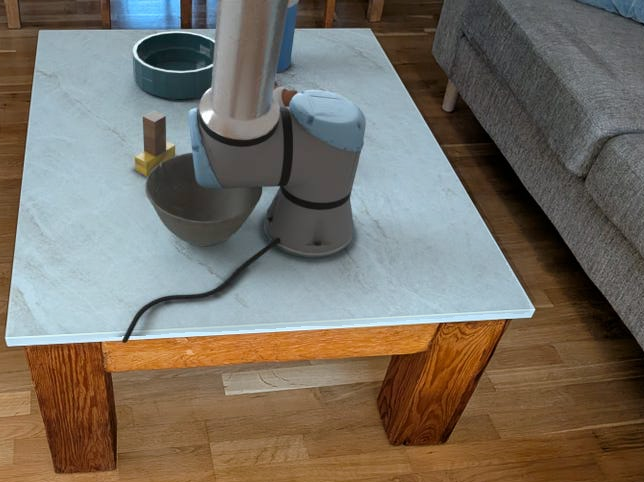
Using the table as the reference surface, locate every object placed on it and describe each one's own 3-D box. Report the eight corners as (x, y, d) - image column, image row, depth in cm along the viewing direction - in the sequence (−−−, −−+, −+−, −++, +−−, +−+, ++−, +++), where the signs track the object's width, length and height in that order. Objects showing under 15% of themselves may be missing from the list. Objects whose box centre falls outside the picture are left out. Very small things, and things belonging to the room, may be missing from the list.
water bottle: (287, 75, 154) (302, -47, 135) (247, 69, 155) (256, -52, 136) (292, 56, 160) (307, -62, 141) (253, 52, 161) (263, -67, 142)
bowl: (174, 190, 123) (173, 141, 115) (271, 217, 119) (277, 168, 111) (127, 251, 111) (123, 200, 104) (233, 283, 107) (237, 233, 99)
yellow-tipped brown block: (146, 176, 125) (144, 127, 118) (135, 170, 127) (132, 121, 119) (175, 159, 130) (175, 110, 122) (163, 153, 131) (163, 104, 123)
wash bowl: (182, 112, 141) (182, 82, 136) (116, 80, 149) (113, 51, 144) (239, 79, 152) (242, 50, 147) (174, 52, 159) (174, 23, 154)
